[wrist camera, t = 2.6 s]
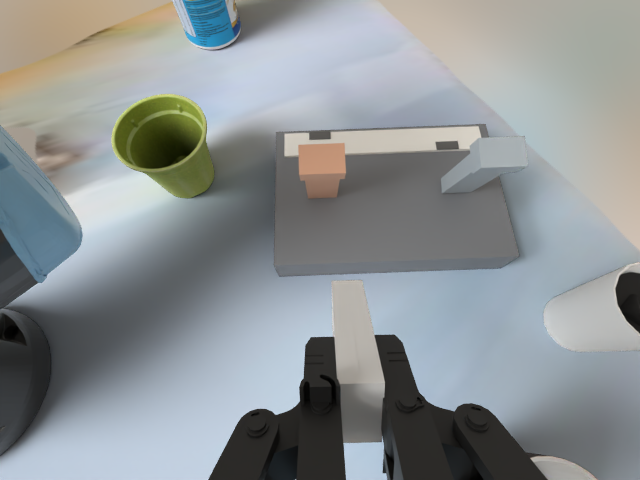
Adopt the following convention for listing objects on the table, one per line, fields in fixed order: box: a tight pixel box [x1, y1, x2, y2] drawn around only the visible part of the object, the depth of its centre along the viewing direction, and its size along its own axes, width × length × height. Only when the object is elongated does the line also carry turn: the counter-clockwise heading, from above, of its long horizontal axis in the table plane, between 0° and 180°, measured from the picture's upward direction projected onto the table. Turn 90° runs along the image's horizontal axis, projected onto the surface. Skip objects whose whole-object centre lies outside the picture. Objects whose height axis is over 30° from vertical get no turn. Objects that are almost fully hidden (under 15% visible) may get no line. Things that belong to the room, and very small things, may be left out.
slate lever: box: [441, 136, 528, 193], centre depth 32 cm, size 4×2×10 cm, turn 92°
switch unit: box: [274, 124, 519, 276], centre depth 39 cm, size 24×16×4 cm, turn 92°
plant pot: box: [111, 94, 214, 198], centre depth 39 cm, size 9×9×9 cm
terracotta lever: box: [298, 143, 346, 199], centre depth 32 cm, size 4×2×10 cm, turn 92°
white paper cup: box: [543, 262, 640, 352], centre depth 31 cm, size 7×7×10 cm
